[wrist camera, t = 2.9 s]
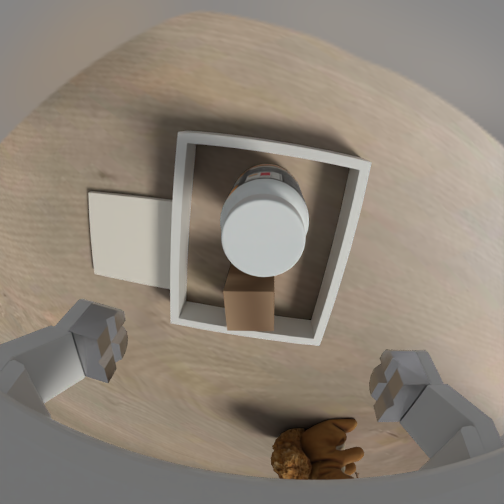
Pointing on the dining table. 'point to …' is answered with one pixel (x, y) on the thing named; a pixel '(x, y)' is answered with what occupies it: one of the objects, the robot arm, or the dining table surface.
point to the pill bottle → (264, 221)
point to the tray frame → (338, 257)
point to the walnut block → (248, 301)
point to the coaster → (131, 237)
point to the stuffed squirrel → (316, 452)
